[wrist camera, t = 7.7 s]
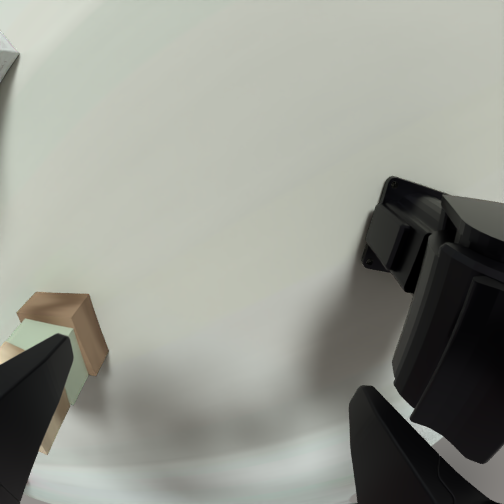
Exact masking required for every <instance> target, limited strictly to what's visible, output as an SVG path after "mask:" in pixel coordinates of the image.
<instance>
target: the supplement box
mask: <svg viewBox="0 0 504 504" xmlns="http://www.w3.org/2000/svg"><path fill="white" fill-rule="evenodd" d="M18 55H19V52H18V50H17V49H16V48H15V47H14V46H13V44H12V43H11V42H10V41H9V40H8V39H7V37H6V36H5V35H4V34H3V33H2V32H1V30H0V82H1V80H2V79H3V77H4V76H5V74H6V72H7V71H8V69H9V68H10V66H11V65H12V63H13V62H14V60H15V59H16V58H17V56H18Z"/></svg>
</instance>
